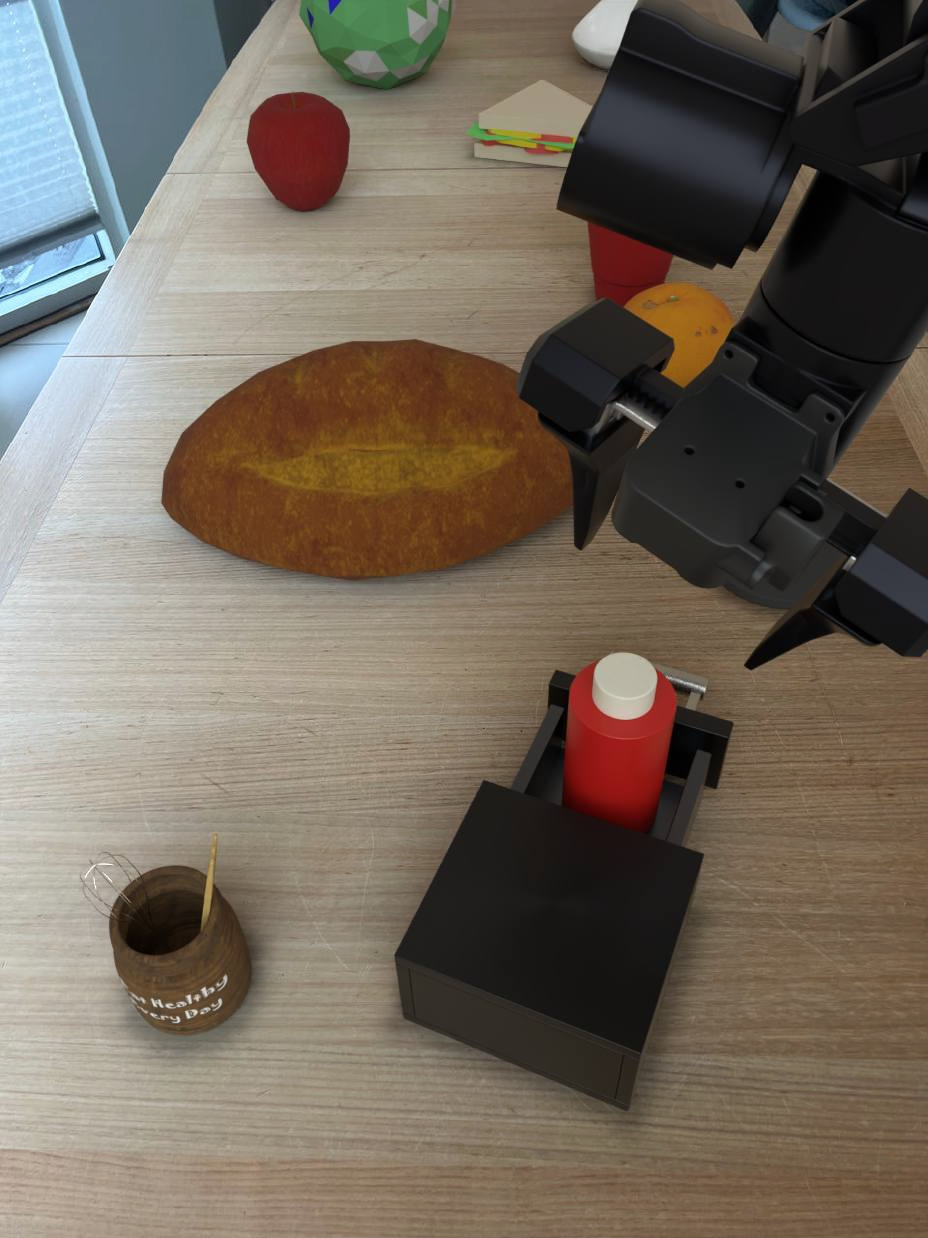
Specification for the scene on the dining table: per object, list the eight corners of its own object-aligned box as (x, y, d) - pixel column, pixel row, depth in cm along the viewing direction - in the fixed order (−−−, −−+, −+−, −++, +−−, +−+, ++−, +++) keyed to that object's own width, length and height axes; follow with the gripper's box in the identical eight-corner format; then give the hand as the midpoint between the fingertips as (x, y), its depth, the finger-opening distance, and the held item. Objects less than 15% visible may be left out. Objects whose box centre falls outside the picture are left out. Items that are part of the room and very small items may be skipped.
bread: (190, 427, 87) (155, 288, 79) (588, 411, 88) (598, 270, 79) (146, 608, 73) (98, 460, 64) (626, 586, 73) (643, 437, 64)
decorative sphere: (412, 143, 143) (280, 67, 131) (390, 64, 154) (265, -13, 142) (499, 17, 131) (362, -79, 119) (468, -59, 142) (340, -153, 130)
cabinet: (484, 848, 59) (483, 779, 54) (687, 921, 55) (704, 853, 51) (402, 1019, 52) (393, 955, 47) (628, 1112, 49) (641, 1054, 44)
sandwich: (562, 203, 115) (563, 156, 112) (449, 149, 126) (448, 105, 123) (661, 163, 122) (666, 118, 118) (546, 115, 133) (548, 73, 129)
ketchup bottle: (668, 782, 59) (693, 652, 52) (641, 858, 56) (663, 730, 48) (579, 754, 61) (591, 623, 53) (548, 826, 57) (555, 697, 50)
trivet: (857, 535, 76) (860, 527, 76) (834, 624, 70) (837, 616, 69) (724, 504, 79) (726, 495, 78) (691, 587, 73) (692, 578, 72)
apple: (371, 212, 115) (362, 98, 107) (277, 234, 112) (260, 118, 103) (334, 175, 122) (322, 65, 114) (245, 194, 119) (226, 83, 110)
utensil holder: (144, 932, 56) (79, 798, 47) (265, 925, 56) (222, 789, 47) (125, 1045, 51) (50, 919, 43) (256, 1036, 52) (207, 910, 43)
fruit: (594, 353, 94) (600, 268, 88) (712, 345, 94) (725, 260, 89) (616, 422, 87) (625, 333, 81) (744, 412, 87) (761, 324, 81)
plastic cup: (704, 322, 97) (724, 192, 89) (590, 337, 96) (599, 207, 87) (664, 267, 105) (679, 142, 96) (558, 280, 103) (563, 155, 95)
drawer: (575, 672, 66) (579, 619, 63) (738, 721, 63) (751, 668, 60) (493, 846, 58) (492, 795, 54) (677, 911, 55) (688, 862, 51)
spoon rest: (653, 81, 140) (658, 20, 135) (564, 76, 143) (566, 16, 137) (669, 24, 157) (675, -32, 152) (589, 20, 159) (592, -35, 154)
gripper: (490, 245, 34) (395, 572, 45) (1025, 585, 29) (767, 851, 41) (656, 158, 41) (536, 460, 52) (1108, 421, 36) (867, 688, 48)
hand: (664, 602), depth 48 cm, fingers open, 9 cm apart
